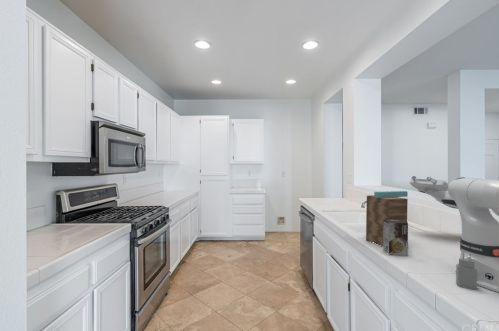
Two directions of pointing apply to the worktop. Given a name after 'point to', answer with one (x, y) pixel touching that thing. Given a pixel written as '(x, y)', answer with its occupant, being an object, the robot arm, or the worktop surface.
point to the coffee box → (395, 237)
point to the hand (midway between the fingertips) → (420, 177)
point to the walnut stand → (383, 215)
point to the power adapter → (466, 273)
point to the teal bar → (390, 194)
